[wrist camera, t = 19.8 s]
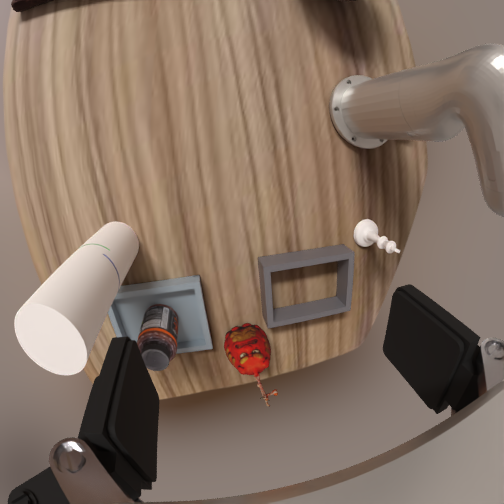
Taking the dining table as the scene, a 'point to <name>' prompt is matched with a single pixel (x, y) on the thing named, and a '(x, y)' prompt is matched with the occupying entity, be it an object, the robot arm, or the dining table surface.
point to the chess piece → (372, 236)
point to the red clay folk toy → (249, 352)
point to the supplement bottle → (158, 336)
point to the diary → (26, 4)
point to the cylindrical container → (76, 301)
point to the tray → (173, 295)
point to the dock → (315, 307)
